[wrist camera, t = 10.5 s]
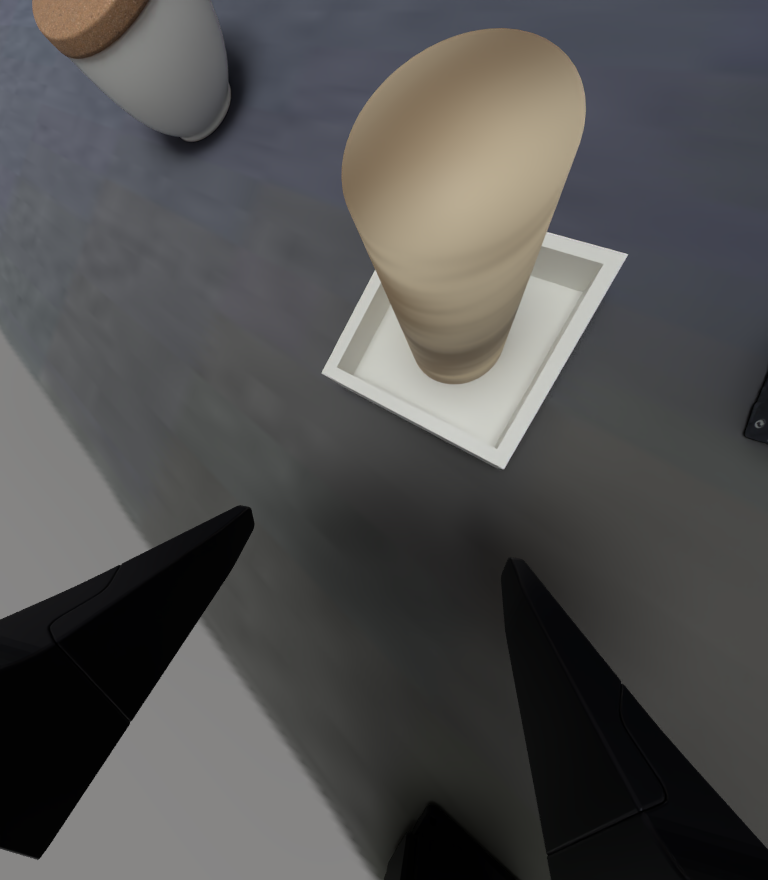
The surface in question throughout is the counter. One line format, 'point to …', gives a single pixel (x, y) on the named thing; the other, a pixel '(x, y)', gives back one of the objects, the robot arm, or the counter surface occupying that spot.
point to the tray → (511, 378)
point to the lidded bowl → (147, 58)
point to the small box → (759, 418)
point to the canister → (463, 187)
